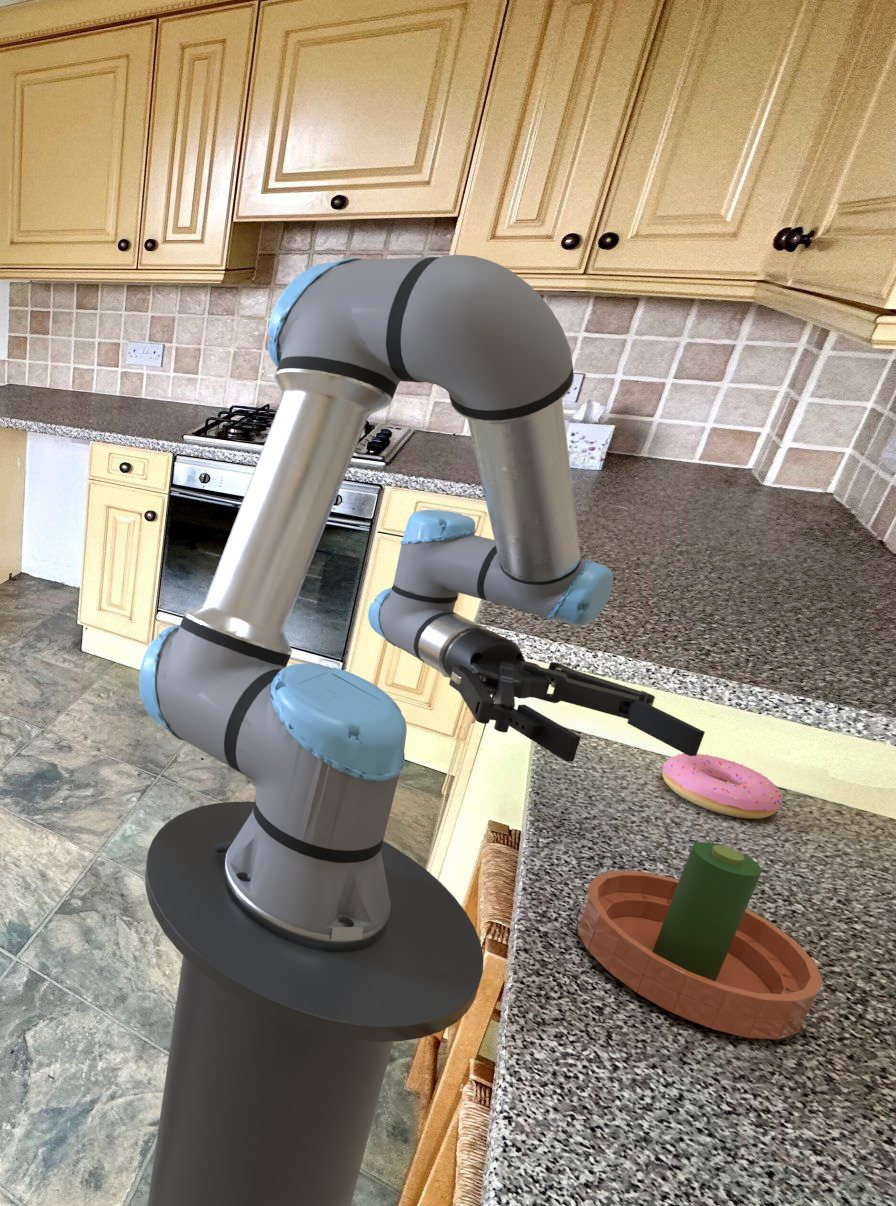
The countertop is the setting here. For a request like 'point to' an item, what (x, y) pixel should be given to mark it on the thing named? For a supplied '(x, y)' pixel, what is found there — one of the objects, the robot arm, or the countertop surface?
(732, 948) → the bowl
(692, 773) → the doughnut
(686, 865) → the battery
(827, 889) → the countertop surface
